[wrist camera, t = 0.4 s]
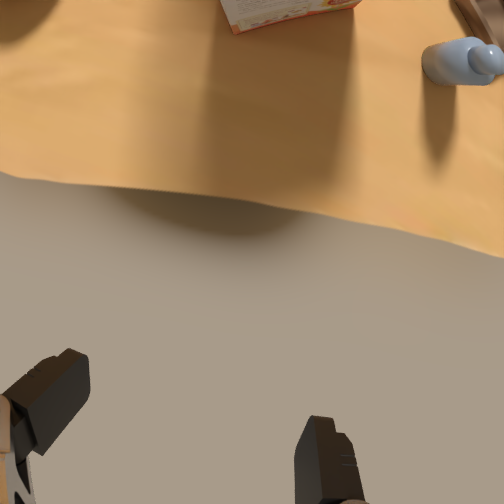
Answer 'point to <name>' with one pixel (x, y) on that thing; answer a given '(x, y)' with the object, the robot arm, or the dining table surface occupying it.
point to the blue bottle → (463, 62)
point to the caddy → (485, 19)
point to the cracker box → (276, 11)
